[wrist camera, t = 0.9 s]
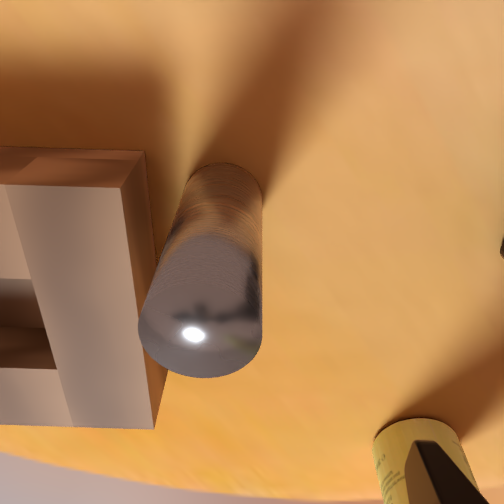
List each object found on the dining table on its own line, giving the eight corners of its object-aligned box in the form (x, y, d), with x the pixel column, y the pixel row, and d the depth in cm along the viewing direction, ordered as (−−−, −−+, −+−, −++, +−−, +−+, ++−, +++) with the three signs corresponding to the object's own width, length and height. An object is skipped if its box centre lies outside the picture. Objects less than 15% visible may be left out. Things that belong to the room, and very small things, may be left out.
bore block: (144, 151, 17) (119, 187, 14) (167, 372, 24) (154, 429, 21) (-167, 141, 17) (-256, 176, 14) (-61, 364, 24) (-107, 420, 21)
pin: (263, 164, 18) (264, 286, 11) (260, 235, 19) (260, 379, 12) (181, 161, 18) (131, 281, 11) (185, 233, 19) (144, 376, 12)
